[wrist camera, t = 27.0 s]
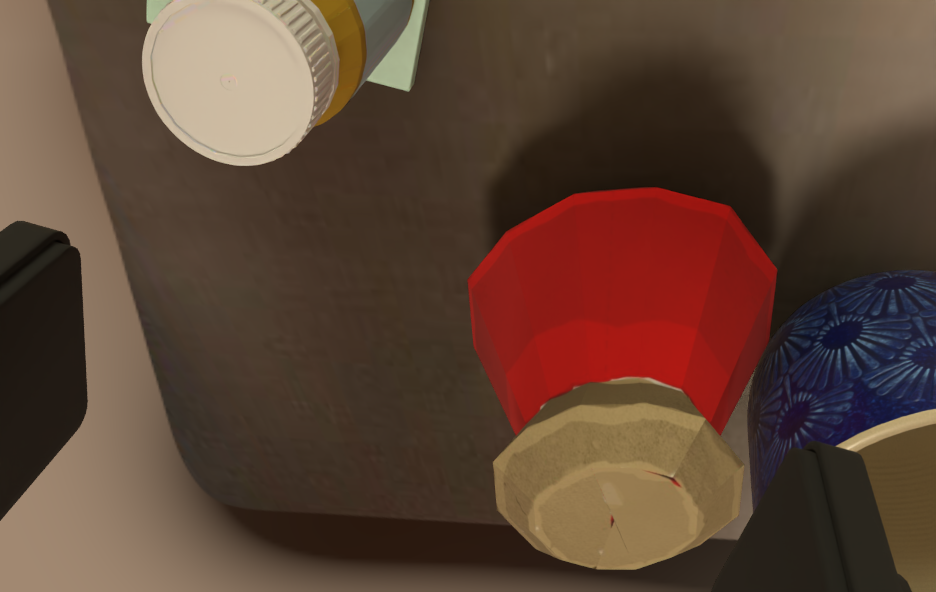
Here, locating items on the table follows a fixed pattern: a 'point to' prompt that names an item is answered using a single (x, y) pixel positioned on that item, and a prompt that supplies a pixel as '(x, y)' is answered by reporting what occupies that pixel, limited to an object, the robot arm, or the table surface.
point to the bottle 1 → (262, 69)
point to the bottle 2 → (621, 370)
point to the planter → (860, 401)
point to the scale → (394, 66)
